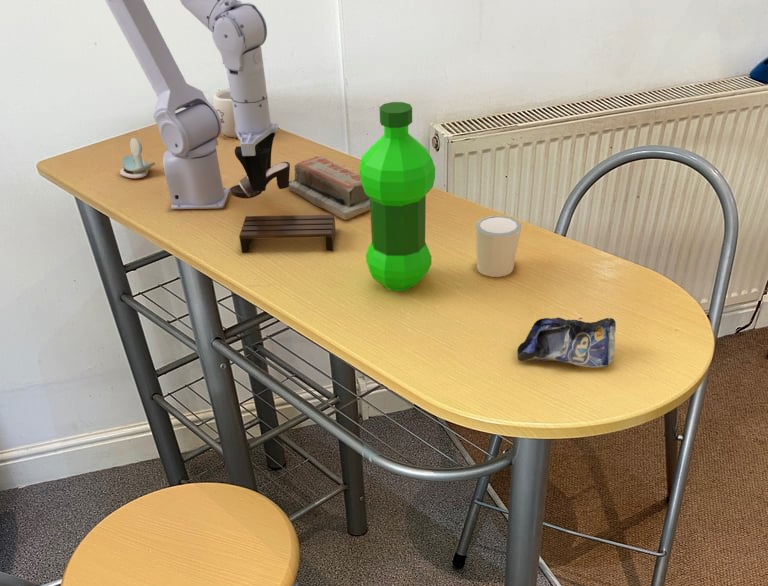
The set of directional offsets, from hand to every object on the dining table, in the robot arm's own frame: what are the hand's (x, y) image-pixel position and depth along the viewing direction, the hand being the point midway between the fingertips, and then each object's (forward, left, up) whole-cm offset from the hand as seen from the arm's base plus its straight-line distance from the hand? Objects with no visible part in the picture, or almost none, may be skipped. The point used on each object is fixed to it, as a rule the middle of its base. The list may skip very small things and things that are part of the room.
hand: (261, 183), depth 130 cm
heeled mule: (0, 0, -2) cm, 2 cm away
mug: (-10, +39, -6) cm, 41 cm away
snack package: (+46, -44, -6) cm, 64 cm away
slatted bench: (+5, -10, -6) cm, 13 cm away
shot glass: (+39, -20, -6) cm, 44 cm away
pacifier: (-28, +20, -6) cm, 35 cm away
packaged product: (+12, +7, -6) cm, 15 cm away
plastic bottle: (+24, -24, -6) cm, 34 cm away
